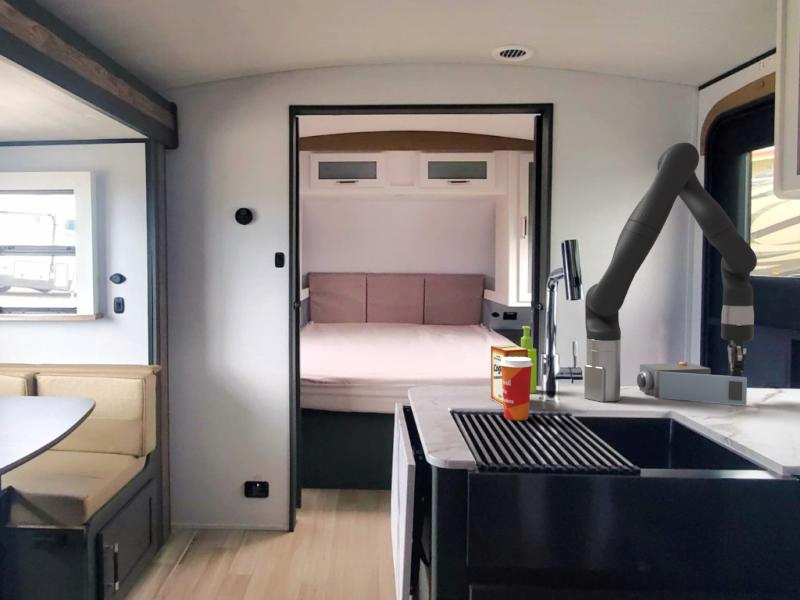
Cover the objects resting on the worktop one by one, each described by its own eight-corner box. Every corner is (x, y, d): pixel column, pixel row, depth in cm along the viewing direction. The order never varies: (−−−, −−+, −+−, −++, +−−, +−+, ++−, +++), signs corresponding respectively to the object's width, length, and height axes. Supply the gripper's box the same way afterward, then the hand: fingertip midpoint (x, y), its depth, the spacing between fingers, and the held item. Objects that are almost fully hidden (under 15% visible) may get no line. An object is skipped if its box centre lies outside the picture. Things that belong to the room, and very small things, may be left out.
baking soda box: (527, 405, 150) (527, 347, 149) (506, 407, 148) (506, 349, 148) (511, 398, 159) (511, 343, 158) (491, 399, 158) (490, 344, 157)
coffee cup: (499, 412, 143) (499, 355, 142) (531, 413, 142) (531, 356, 141) (499, 421, 135) (499, 361, 134) (534, 422, 134) (534, 361, 133)
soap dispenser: (534, 388, 171) (534, 325, 170) (537, 393, 164) (537, 327, 163) (515, 388, 172) (515, 325, 171) (518, 393, 165) (518, 327, 164)
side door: (746, 405, 146) (747, 378, 145) (654, 397, 156) (654, 371, 156) (745, 404, 147) (746, 377, 147) (654, 396, 157) (655, 370, 157)
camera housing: (710, 395, 159) (710, 365, 158) (649, 398, 157) (649, 367, 157) (689, 388, 169) (689, 360, 168) (631, 390, 167) (632, 362, 167)
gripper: (718, 319, 156) (717, 379, 157) (724, 324, 144) (723, 388, 145) (749, 320, 153) (748, 381, 154) (757, 324, 141) (756, 391, 142)
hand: (736, 384), depth 150 cm, fingers closed
